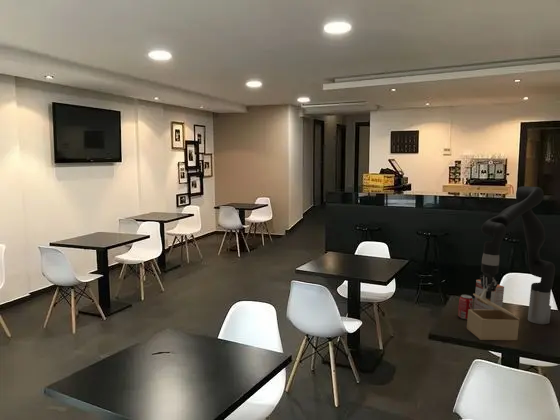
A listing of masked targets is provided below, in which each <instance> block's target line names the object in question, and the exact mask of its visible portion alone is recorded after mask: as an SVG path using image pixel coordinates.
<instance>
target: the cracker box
mask: <svg viewBox="0 0 560 420" xmlns="http://www.w3.org/2000/svg"><path fill="white" fill-rule="evenodd" d="M475 281H476V282H475V290H474V291H475V293H474V294H476V295H478V296H481V294H482V292H483V291H484V289H483V287H482V286H481V280H480V279H476V280H475ZM483 285H484V284H483ZM504 293H505V286H503V285H501V284H498V285H497V287H496V289H495V291H492V292H491V298H490V299H487V300H488V301H490V302H492V303H494V304H496V305H498V306H500V307H502V308H503V303H504ZM473 309H480V310H498V309H496V308H494V307H492V306H490V305H488V304H487V303H485V302H483V301H482V300H480V299H479V298H477V297H476V296H474V301H473Z"/></svg>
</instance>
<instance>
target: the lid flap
mask: <svg viewBox="0 0 560 420" xmlns="http://www.w3.org/2000/svg"><path fill="white" fill-rule="evenodd" d="M472 295H473V296H474V297H475V296H476V297H477V298H479V299H480V300H482V301H483V302H485V303H487V304H488V305H490V306H492V307H494V308H496V309H498V310H500V311H502V312H504V313H506V314H508V315H510V316H513V317H515V318H517V319H518V320H520V319H521V318H520V317H518V316H516V315H515V314H514V313H512V312H510V311H509V310H507V309H506V308H504V307H503V306H502V307H500V306H498V305H496V304H494V303H492V302H490V301H488V300H487V298H486V289H484V291H483V292H482V294H481V296H478V295H476V294H475V293H472Z"/></svg>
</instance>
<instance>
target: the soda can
mask: <svg viewBox="0 0 560 420" xmlns="http://www.w3.org/2000/svg"><path fill="white" fill-rule="evenodd" d="M457 307H458V308H457V309H458V310H457V315H458V317H459V318H460V319H461V320H467V319H468V309H474V299H473V296H472V295H469V294H461V295H460V297H459V301H458V306H457Z"/></svg>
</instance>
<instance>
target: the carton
mask: <svg viewBox="0 0 560 420" xmlns="http://www.w3.org/2000/svg"><path fill="white" fill-rule="evenodd" d="M466 320H467V321H466V330H468V331H469V332H470V333H472V334H473V335H474V336H475V337H476V338H478V339H479V340H480V341H518V338H519V336H518V334H519V325H520V319H517V318H515V317H513V316H510V315H508V314H506V313H504V312H502V311H500V310H480V309H474V308H473V309H468V319H466Z"/></svg>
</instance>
